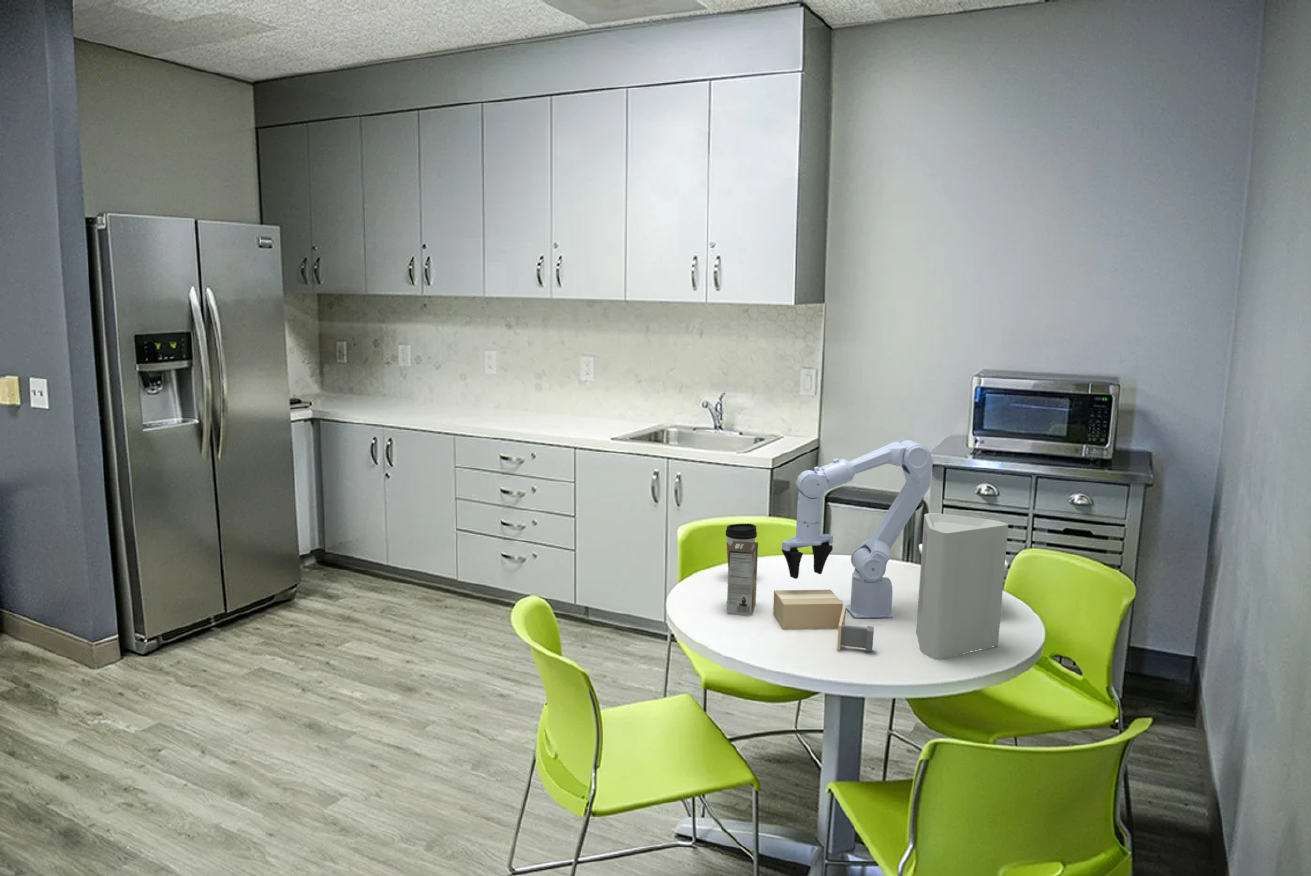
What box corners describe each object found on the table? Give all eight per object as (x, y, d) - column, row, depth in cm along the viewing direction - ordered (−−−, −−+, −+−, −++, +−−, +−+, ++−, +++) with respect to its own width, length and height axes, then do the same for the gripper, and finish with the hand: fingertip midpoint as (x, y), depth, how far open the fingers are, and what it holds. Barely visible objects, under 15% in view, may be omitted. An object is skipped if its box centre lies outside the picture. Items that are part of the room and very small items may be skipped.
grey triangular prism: (950, 624, 220) (959, 509, 216) (999, 645, 208) (1010, 524, 203) (888, 636, 212) (896, 517, 207) (935, 659, 199) (945, 533, 194)
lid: (842, 627, 216) (843, 604, 215) (874, 631, 214) (876, 608, 213) (837, 649, 203) (838, 625, 202) (871, 653, 201) (873, 629, 200)
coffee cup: (756, 584, 247) (758, 530, 244) (724, 584, 247) (726, 529, 244) (753, 575, 255) (755, 522, 253) (723, 574, 255) (724, 521, 253)
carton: (829, 613, 226) (830, 589, 225) (841, 628, 216) (843, 603, 215) (773, 614, 225) (774, 589, 224) (782, 629, 215) (783, 603, 214)
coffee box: (730, 601, 233) (732, 539, 230) (756, 604, 232) (758, 541, 229) (726, 614, 224) (728, 549, 221) (752, 616, 223) (755, 552, 220)
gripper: (796, 528, 216) (793, 584, 218) (842, 520, 223) (839, 575, 225) (777, 521, 221) (774, 576, 224) (822, 514, 229) (820, 567, 231)
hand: (806, 575), depth 225 cm, fingers open, 7 cm apart
